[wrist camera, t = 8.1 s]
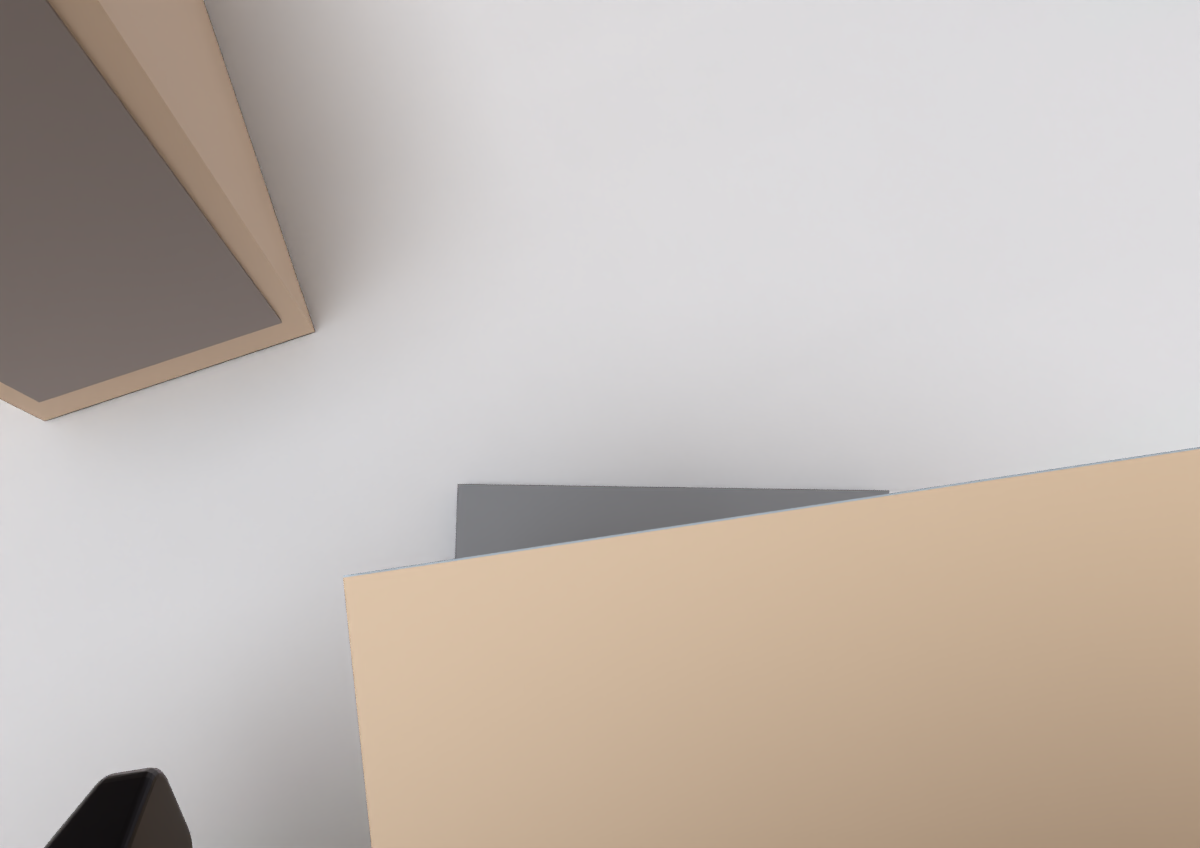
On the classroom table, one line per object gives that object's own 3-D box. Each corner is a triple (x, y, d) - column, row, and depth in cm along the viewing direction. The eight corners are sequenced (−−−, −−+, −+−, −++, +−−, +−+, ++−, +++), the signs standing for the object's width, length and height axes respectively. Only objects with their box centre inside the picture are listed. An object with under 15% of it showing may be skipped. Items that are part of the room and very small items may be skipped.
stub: (812, 860, 16) (1567, 1396, 4) (511, 915, 16) (447, 1669, 4) (761, 589, 17) (1279, 426, 5) (475, 634, 16) (334, 564, 5)
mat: (913, 1094, 16) (922, 1105, 15) (437, 1104, 15) (435, 1116, 15) (880, 494, 18) (889, 490, 17) (459, 487, 17) (457, 483, 17)
